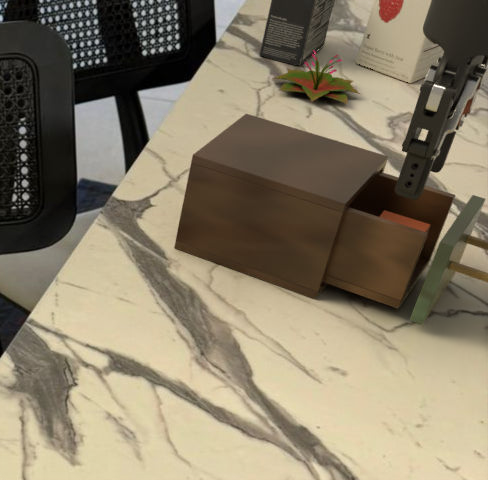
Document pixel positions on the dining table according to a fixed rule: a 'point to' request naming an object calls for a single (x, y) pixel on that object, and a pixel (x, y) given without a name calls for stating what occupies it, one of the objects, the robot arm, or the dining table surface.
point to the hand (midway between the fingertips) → (418, 181)
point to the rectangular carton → (398, 40)
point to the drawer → (402, 246)
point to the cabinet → (272, 201)
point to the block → (405, 221)
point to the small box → (295, 29)
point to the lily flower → (317, 82)
